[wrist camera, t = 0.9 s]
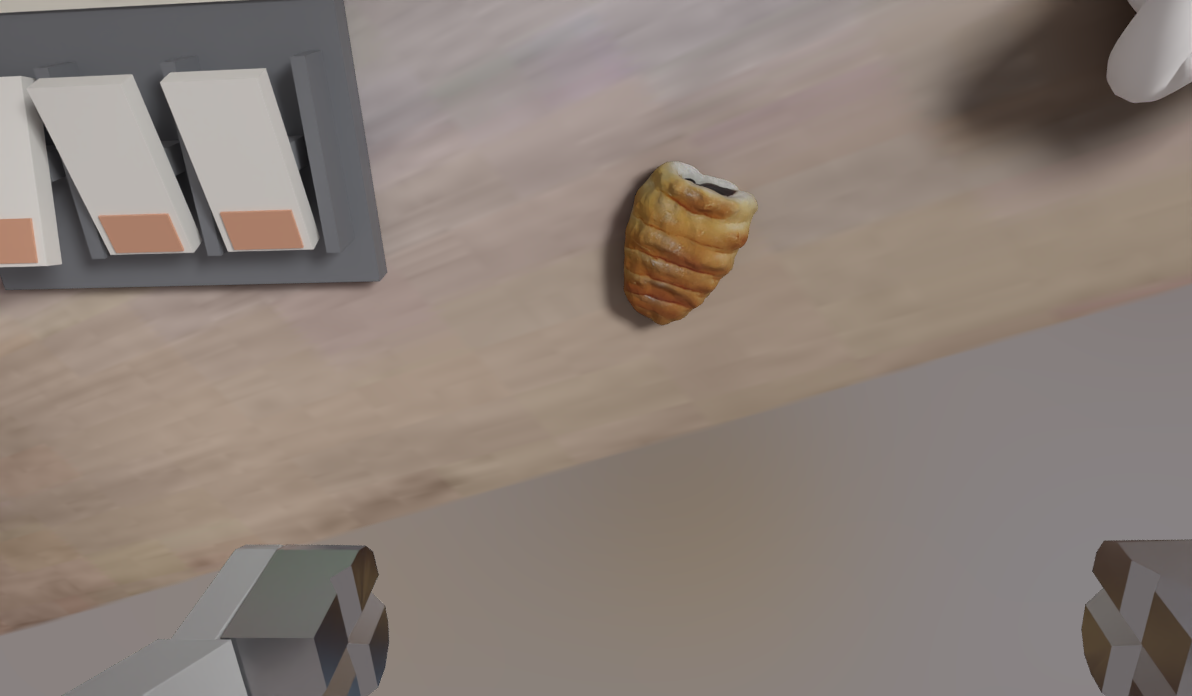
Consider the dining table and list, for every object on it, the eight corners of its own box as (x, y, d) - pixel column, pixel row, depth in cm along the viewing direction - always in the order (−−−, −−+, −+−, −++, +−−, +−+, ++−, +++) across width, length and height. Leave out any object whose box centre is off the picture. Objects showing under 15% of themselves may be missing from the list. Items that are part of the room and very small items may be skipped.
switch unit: (-128, -148, 46) (-195, -154, 43) (314, -179, 44) (283, -188, 41) (21, 281, 56) (-23, 305, 53) (387, 272, 54) (367, 296, 51)
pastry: (700, 327, 55) (702, 354, 51) (598, 291, 54) (593, 315, 51) (762, 188, 51) (768, 206, 47) (652, 147, 50) (650, 163, 47)
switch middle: (39, 78, 45) (24, 89, 44) (132, 74, 45) (119, 85, 44) (120, 243, 51) (109, 256, 50) (202, 240, 51) (193, 253, 50)
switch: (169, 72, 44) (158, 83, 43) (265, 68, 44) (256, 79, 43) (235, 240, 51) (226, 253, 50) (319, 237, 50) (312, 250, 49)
